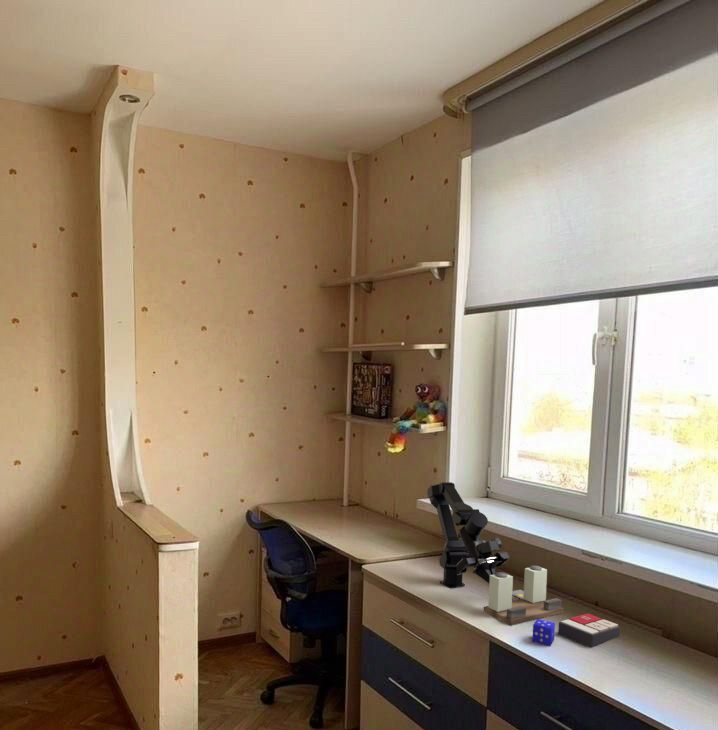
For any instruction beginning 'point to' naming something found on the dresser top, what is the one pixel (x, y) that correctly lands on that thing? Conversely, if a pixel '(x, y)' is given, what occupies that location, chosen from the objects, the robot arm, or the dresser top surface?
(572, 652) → the dresser top surface
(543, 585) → the button
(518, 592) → the card
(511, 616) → the wooden base plate
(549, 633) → the die
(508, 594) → the button
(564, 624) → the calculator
